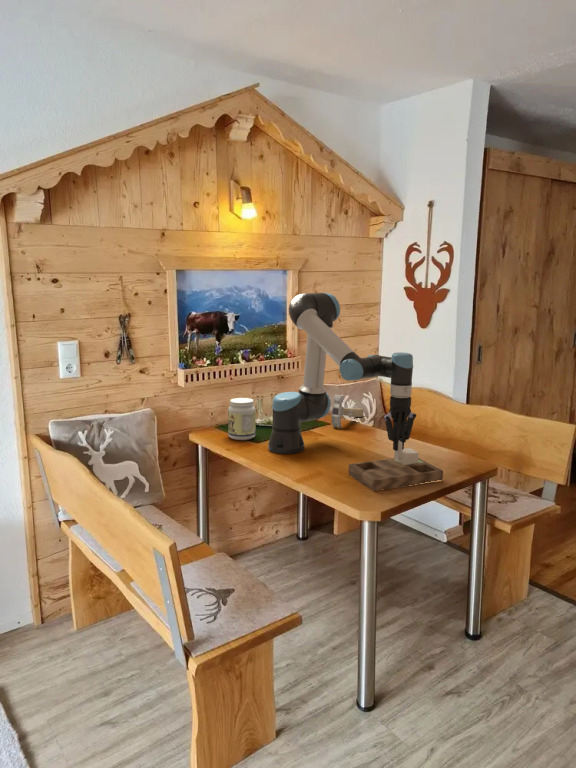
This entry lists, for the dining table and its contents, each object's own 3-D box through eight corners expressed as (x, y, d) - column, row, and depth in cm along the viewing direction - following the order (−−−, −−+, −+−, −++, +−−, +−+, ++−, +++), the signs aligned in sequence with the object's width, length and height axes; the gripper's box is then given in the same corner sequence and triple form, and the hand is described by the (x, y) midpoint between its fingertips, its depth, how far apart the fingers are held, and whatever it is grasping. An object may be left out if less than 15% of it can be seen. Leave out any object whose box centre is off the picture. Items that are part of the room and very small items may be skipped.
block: (403, 464, 207) (404, 454, 207) (395, 459, 213) (395, 449, 212) (417, 462, 209) (418, 452, 209) (408, 458, 215) (409, 447, 214)
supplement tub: (224, 435, 259) (223, 398, 256) (249, 432, 264) (248, 396, 261) (234, 442, 248) (234, 404, 245) (259, 438, 253) (259, 401, 250)
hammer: (357, 397, 295) (332, 394, 269) (365, 398, 293) (341, 395, 267) (353, 427, 295) (328, 427, 269) (361, 428, 293) (337, 428, 267)
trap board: (373, 491, 192) (373, 480, 191) (348, 474, 208) (348, 464, 208) (442, 481, 202) (443, 470, 201) (413, 465, 218) (414, 455, 218)
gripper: (390, 399, 199) (387, 463, 204) (422, 396, 204) (418, 459, 208) (379, 395, 206) (377, 457, 211) (410, 392, 211) (407, 453, 215)
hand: (397, 458), depth 210 cm, fingers closed
